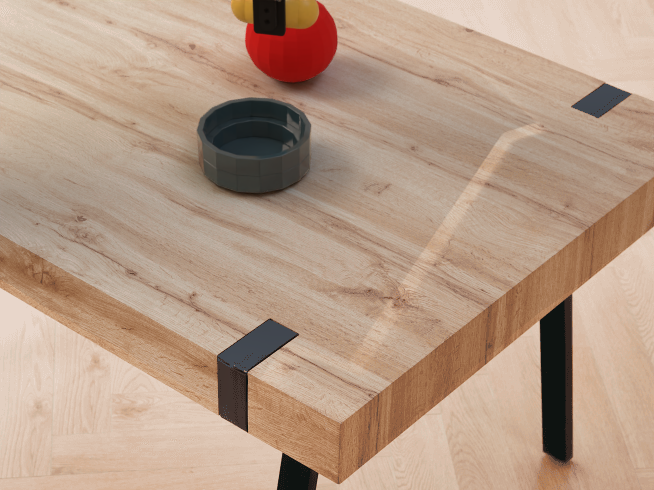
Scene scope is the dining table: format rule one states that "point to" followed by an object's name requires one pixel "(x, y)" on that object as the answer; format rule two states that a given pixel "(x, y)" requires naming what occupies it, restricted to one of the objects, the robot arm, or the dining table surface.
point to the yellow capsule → (298, 12)
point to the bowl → (254, 144)
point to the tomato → (295, 49)
